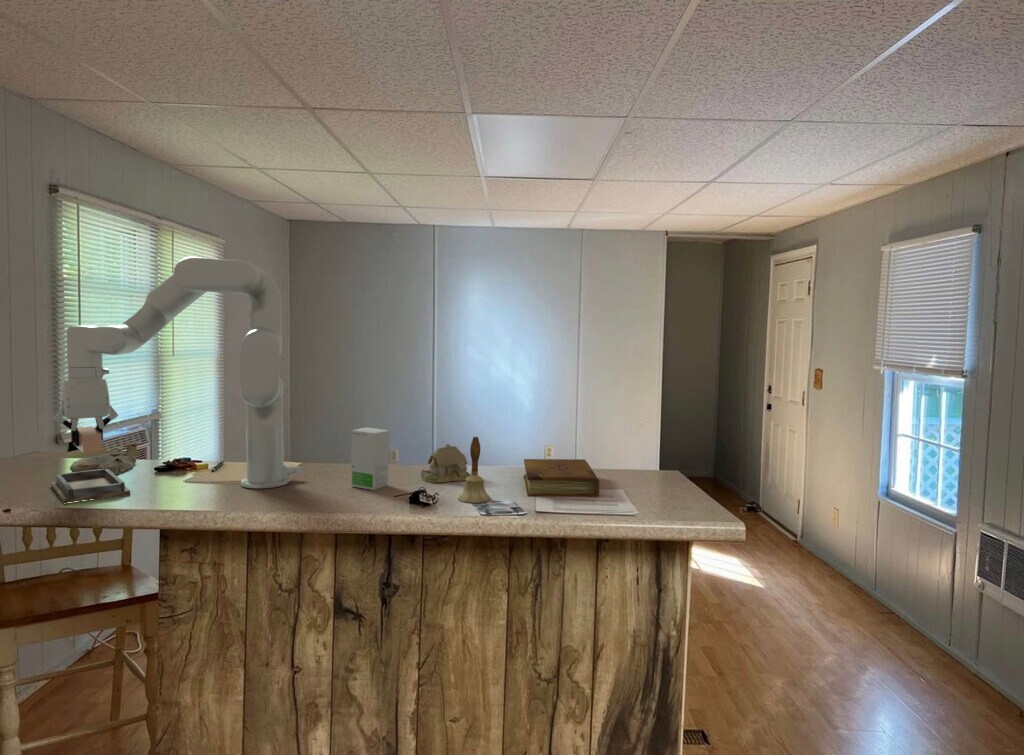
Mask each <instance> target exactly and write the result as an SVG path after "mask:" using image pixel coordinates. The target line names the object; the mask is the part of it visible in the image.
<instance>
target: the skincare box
mask: <svg viewBox="0 0 1024 755" xmlns="http://www.w3.org/2000/svg"><path fill="white" fill-rule="evenodd" d="M389 454H390V430H387V429H380V428H373V427H367V426H366V427H361V428H357V429H352V430H351V459H350V460H351V462H350V463H351V466H350V467H351V468H350V487H354V488H360V489H365V490H371V491H376V490H378V489H382V488H385V487H388V485H389V462H390V461H389V456H390V455H389Z"/></svg>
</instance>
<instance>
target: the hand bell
mask: <svg viewBox="0 0 1024 755" xmlns="http://www.w3.org/2000/svg"><path fill="white" fill-rule="evenodd" d="M469 451H470V454H469V455H470V458H471V469H470V470H471V472H470V475H471V476H469V477H467V478H466V480H464V482H465V483H464V487H463V490H462V492H461V494H459V495H458V497H457V500H459V501H460V502H463V503H470V504H478V503H479V504H480V503H487V502H489V501H491V496H490V495H489V494H488V493H487V491H486V488H485V483H484V478H483V477H481V476H480V475H479V463H478V462H479V459H480V456H481V443H480V439H479V437H478V436H473V437H472V440H471V443H470V449H469Z"/></svg>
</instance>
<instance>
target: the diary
mask: <svg viewBox="0 0 1024 755" xmlns="http://www.w3.org/2000/svg"><path fill="white" fill-rule="evenodd" d="M523 464H524V470H525V474H523V479H524V480H523V481H524V485H525V490H526V496H527V497H556V498H557V497H560V498H561V497H566V498H567V497H569V498H570V497H573V498H574V497H575V498H579V497H580V498H583V497H585V498H586V497H587V498H590V497H591V498H595V497H597V498H598V497H599V496H600V480H599V478H598V477H597V475H596V474H595V472H594V471H593V469H592V467H591V465H590V464H589V463H588V461H587V460H586V459H585V458H584V459H582V458H581V459H573V458H572V459H568V458H567V459H566V458H565V459H562V458H561V459H559V458H554V459H553V458H552V459H551V458H523Z"/></svg>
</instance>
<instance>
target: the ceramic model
mask: <svg viewBox="0 0 1024 755" xmlns="http://www.w3.org/2000/svg"><path fill="white" fill-rule="evenodd" d="M467 464H468V461H467V458H466V455H465V454H464V453H462V452H461V450H460V449H458V447H457V446H455V445H454V446H451V445H450V444H449V443H447V444H445V445H444V447H439V448H436V450H434V451H433V453H431V454H430V456H429V459H428V460H427V465H429V469H428V470H427V469H426V470H425V469H422V470H421V471H420V477H421V480H422V481H424V482H428V483H447V482H458V481H461V482H462V481H466V478H467V477H469V476H471V473H469V471H468V470H467V469H468V467H467Z"/></svg>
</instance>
